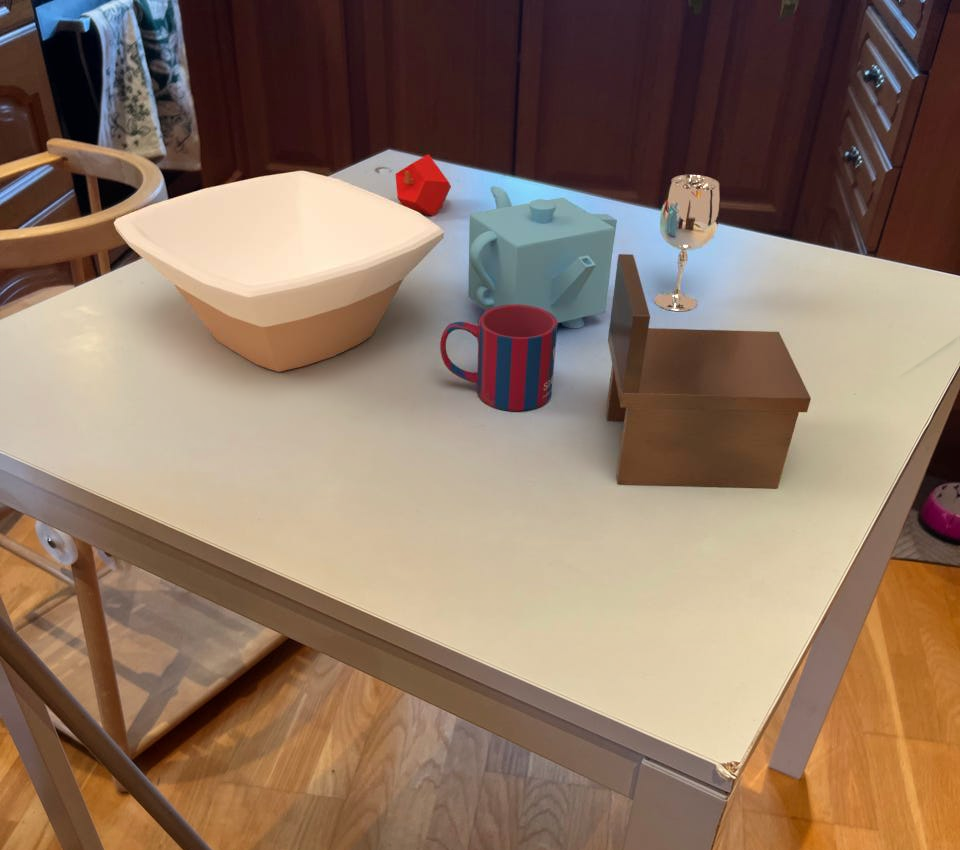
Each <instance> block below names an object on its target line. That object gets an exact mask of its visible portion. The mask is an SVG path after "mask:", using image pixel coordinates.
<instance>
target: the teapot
mask: <svg viewBox="0 0 960 850" xmlns="http://www.w3.org/2000/svg"><path fill="white" fill-rule="evenodd" d="M489 190H490V192H491V194H492V196H493V198H494V201H495V207H496V208H494V209H487V210H483V211H477V212H471V213H470V214H469V223H468V224H469V225H468V226H469V227H468V230H469V231H468V292H467V293H468V295H467V297H468V298H469V299H470V300H471V301H473V302H474V303H475V304H476V305H478V306H479V307H480V308H481V309H483V310H484V312H485V311H487V310H489V309H491V308H494V307H497V306H502V305H512V304H519V305H529V306H534V307H538V308H541V309H543V310H545V311H548V312H549V313H551V314H552V315H553V316H554V317H555V318H556V320H557V324H559V323H561V325H562V326H564V327H565V328H568V329H580V328H582V327H584V326H585V322H584V320H583V319H582V318H585V317H589V316H594V315H598V314H603V313H606V309H607V302H608V295H609V293H608V292H609V285H610V275H611V267H612V261H613V260H612V259H613V252H614V244H615V238H616V231H617V230H616V229H617V223H618V219H616V218H614V217H613V216H611V215H609V214H608V213H590V212H588V211H587V210H585V209H583V208H582V207H580V206H578V204H577V205H576V204H575V203H573V202H571V201H570V200H568V199H567V198H565V197H557V198H551V199H545V198H544V199H543V198H542V199H540V198H539V199H535V200H531V201H530V202H528V203H521V204H517V205H512V202H511V199H510V197H509V194H508V193H507V192H506V191H505V190H504V189H503V188H502V187H499V186H497V185H496V186H495V185H494V186H493V185H492V186H490V189H489Z"/></svg>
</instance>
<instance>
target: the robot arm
mask: <svg viewBox="0 0 960 850" xmlns="http://www.w3.org/2000/svg"><path fill="white" fill-rule="evenodd" d="M799 1H800V0H781V8H780V15H779V20H780V21H781V20H783V21H788V18H789V15H794V14H795V12H796V10H797V7H798V4H799ZM687 3H688V7H689V8H693V14H696V15H697V14H699V15H701V12H702V7H703V0H688V2H687Z"/></svg>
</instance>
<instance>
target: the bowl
mask: <svg viewBox="0 0 960 850" xmlns="http://www.w3.org/2000/svg"><path fill="white" fill-rule="evenodd" d="M113 225H114V228H115V230H116V232H117V233H118V234H119V235H120V236H121V238H122V239H123V240H124V241H125V243H126V244H127V245H128V247H129V248H131V249H132V250H133V251H134V252H135V253H137V254H138V255H139V257H141V258H142V259H144V260H145V261H146V262H147V263H148V264H150V265H151V266H152V267H153V268H154V269H156V270H157V272H158V273H160V274H161V275H163V276H164V277H165V278H166V279H167V280H168V281H170V283H172V284H173V286H175V288H176V289H177V291H178V292H179V293H180V294H181V296H182V297H183V298H184V300H185V301H186V302H187V303H188V305H189V306H190V307H191V308H192V310H193V311H194V312H195V314H196V315H197V316H198V318H199V319H200V320H201V321H202V323H203V324H204V325H205V326H206V328H207V329H208V330H209V332H210V333H211V334H212V335H213V336H214V338H215V340H217V342H218V343H220V344H222V345H224V346H225V347H226V348H228V349H230V350H231V351H233V352H235V353H236V354H237V355H239V356H241V357H242V358H244V359H245V360H248V361H250V362H251V363H253V364H255V365H257V366H259V367H263V368H265V369H268V370H271V371H274V372H277V373H281V372H284V371H285V372H286V371H289V370H292V369H297V368H301V367H306V366H309V365H312V364H314V363H318V362H321V361H324V360H326V359H330V358H333V357H335V356H338V355H339V354H342V353H344V352H346V351H348V350H350V349H352V348H355V347H356V346H358V345H361V344H362V343H363V342H364V341H366V340H367V339H369V338H371V337H372V336H373V335H374V332H375V330H376V328H377V327H378V325H379V323H380V322H381V320H382V319H383V316H384V314H385V313H386V311H387V309H388V307H389V306H390V304H391V302H392V300H393V299H394V297H395V296H396V294H397V291H398V290H399V288H400V286H401V285H402V283H403V281H404V279H405V278H406V277H407V276H408V275H409V274H410V273H411V272H412V271H413V270H414V269H415V268H416V267H417V266H418V265H419V264H420V263H421V262H422V261H423V260H424V258H426V257H427V255H429V254H430V253H431V251H433V249H435V248H436V246H437V245H438V244H439V243H440V242H441V241H442V240H443V239H444V234H445V231H444V230H443V229H442V228H441V227H440V226H439V225H438V224H436V223H435V222H433V221H432V220H430V219H429V218H428V217H426V216H424V214H423V213H419V212H417V211H414V210H412V209H410V208H407V207H405V206H403V205H402V204H401V203H398V202H395V201H393V200H391V199H389V198H386V197H384V196H381V195H379V194H376V193H374V192H371V191H370V190H366V189H364V188H361V187H359V186H356V185H354V184H351V183H349V182H346V181H344V180H341V179H339V178H335V177H330V176H327V175H323V174H318V173H315V172H310V171H306V170H296V171H289V172H283V173H275V174H270V175H263V176H262V175H261V176H257V177H253V178H248V179H244V180H243V179H242V180H238V181H235V182H229V183H225V184H224V183H223V184H220V185H215V186H210V187H206V188H202V189H199V190H196V191H192V192H189V193H185V194H182V195H179V196H176V197H173V198H169V199H165V200H163V201H159V202H156V203H152V204H150V205H148V206H145V207H141V208H139V209H138V210H135V211H132V212H129V213H126V214H125V215H122V216H120V217H117V218H116V219H115V220H114V222H113Z"/></svg>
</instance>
